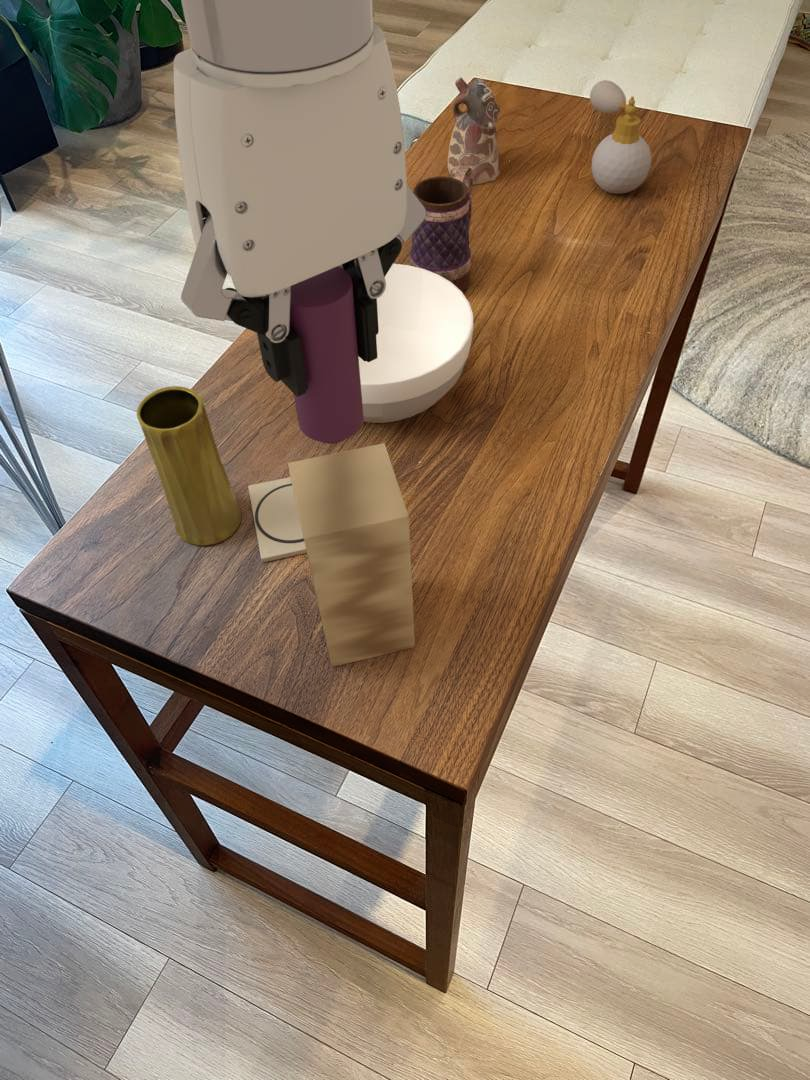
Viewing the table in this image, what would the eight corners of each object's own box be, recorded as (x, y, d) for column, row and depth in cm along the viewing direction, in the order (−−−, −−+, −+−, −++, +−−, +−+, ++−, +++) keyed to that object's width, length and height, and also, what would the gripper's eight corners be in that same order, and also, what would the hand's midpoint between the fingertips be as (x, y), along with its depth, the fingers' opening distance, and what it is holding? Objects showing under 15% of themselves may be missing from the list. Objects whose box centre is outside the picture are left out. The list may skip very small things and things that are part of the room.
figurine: (488, 189, 111) (492, 96, 101) (439, 179, 113) (439, 87, 103) (507, 163, 115) (512, 72, 105) (459, 154, 117) (460, 63, 107)
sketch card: (262, 562, 74) (260, 558, 73) (249, 489, 79) (247, 484, 79) (382, 536, 75) (381, 532, 75) (361, 466, 81) (360, 461, 80)
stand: (331, 667, 67) (304, 538, 54) (316, 598, 72) (287, 462, 58) (415, 647, 68) (409, 516, 55) (395, 580, 72) (384, 442, 59)
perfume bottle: (632, 209, 107) (651, 114, 97) (563, 190, 110) (574, 96, 101) (654, 181, 111) (673, 87, 101) (586, 164, 114) (599, 72, 104)
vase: (236, 546, 75) (200, 434, 64) (170, 547, 75) (122, 435, 64) (246, 495, 79) (213, 381, 68) (182, 496, 79) (139, 382, 68)
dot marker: (306, 457, 50) (282, 312, 42) (295, 413, 53) (270, 268, 44) (370, 445, 51) (359, 299, 43) (357, 402, 53) (343, 256, 45)
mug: (451, 307, 96) (452, 211, 86) (399, 289, 98) (394, 193, 88) (493, 262, 101) (499, 166, 91) (442, 246, 103) (443, 151, 94)
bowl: (256, 412, 86) (240, 345, 79) (354, 312, 96) (347, 244, 89) (414, 477, 80) (411, 410, 73) (502, 363, 89) (507, 294, 82)
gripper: (393, -62, 38) (403, 281, 53) (44, 34, 32) (163, 390, 47) (499, -14, 34) (478, 341, 49) (125, 104, 29) (227, 468, 43)
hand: (323, 362), depth 48 cm, fingers closed on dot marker, 4 cm apart
